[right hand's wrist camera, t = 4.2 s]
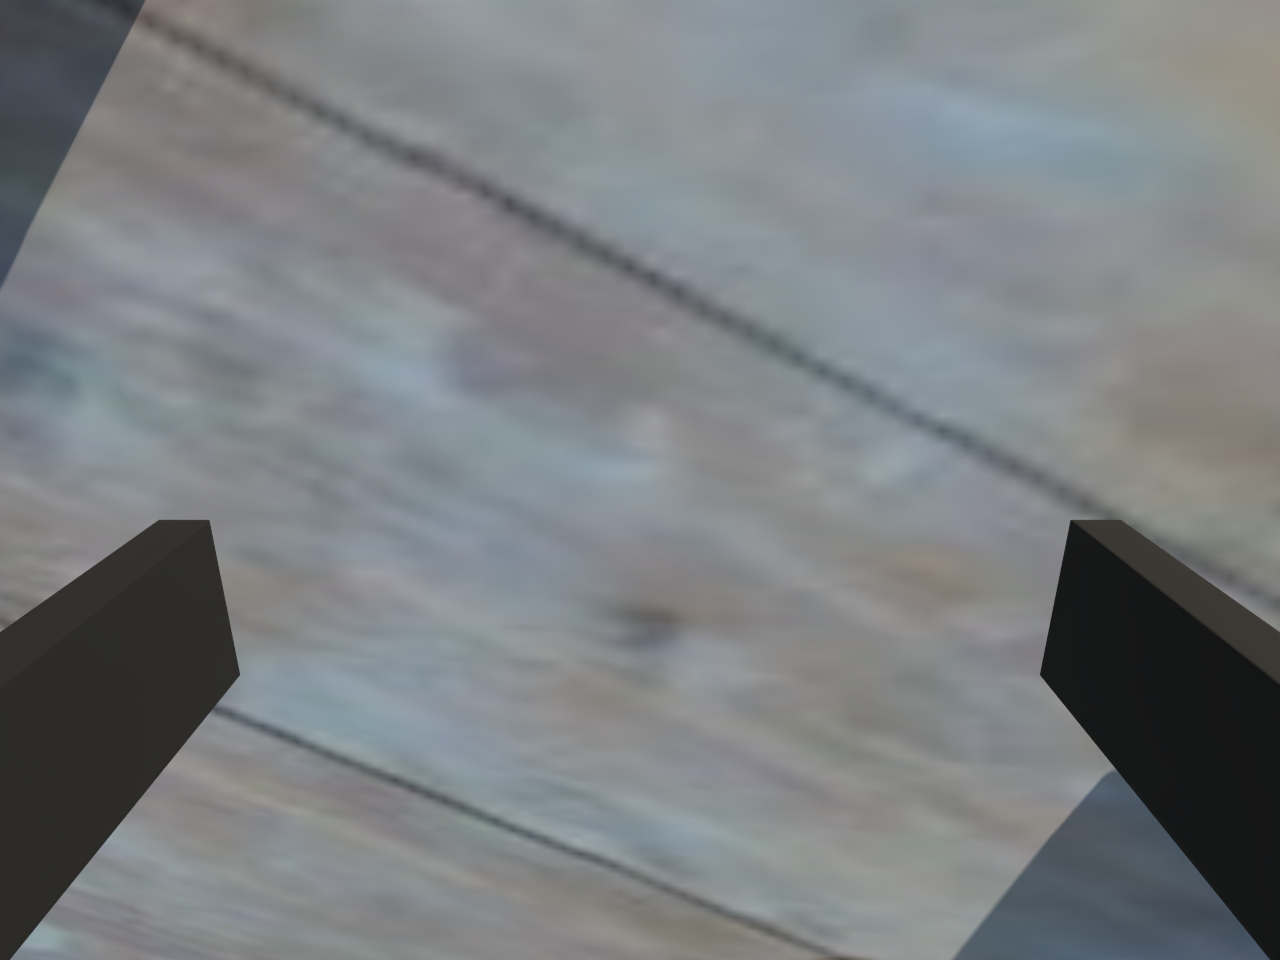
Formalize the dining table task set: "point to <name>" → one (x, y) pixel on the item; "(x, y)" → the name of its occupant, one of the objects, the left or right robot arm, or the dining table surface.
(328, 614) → the dining table surface
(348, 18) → the dining table surface
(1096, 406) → the dining table surface
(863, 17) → the dining table surface
